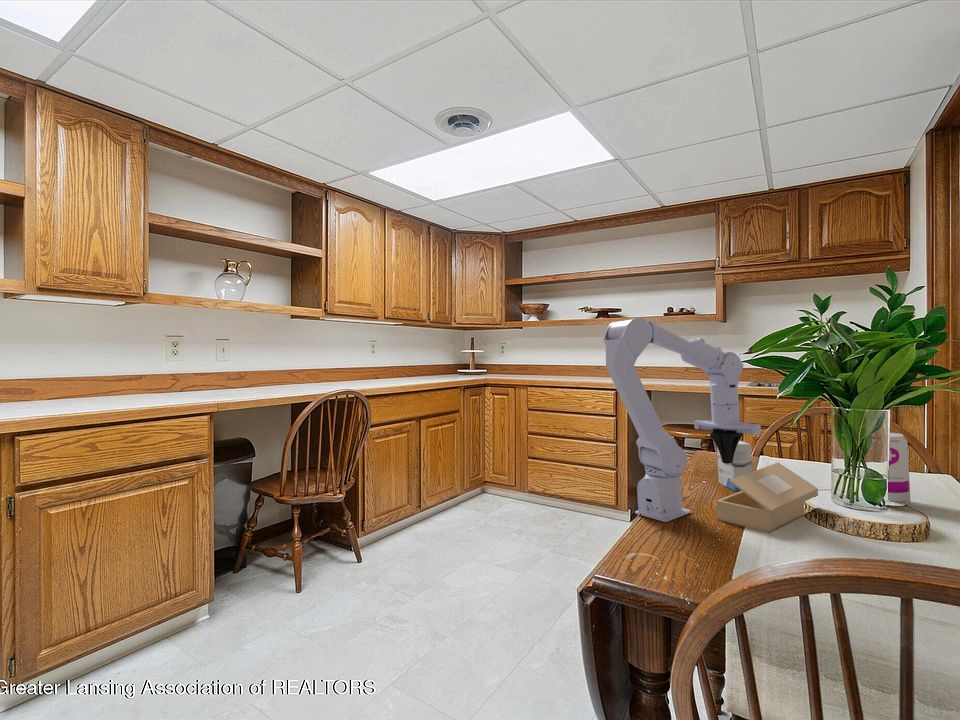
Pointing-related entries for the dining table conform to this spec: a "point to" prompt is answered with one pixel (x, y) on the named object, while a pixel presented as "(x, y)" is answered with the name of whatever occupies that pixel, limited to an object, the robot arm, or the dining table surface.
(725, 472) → the ink box
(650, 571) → the dining table surface
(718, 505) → the carton
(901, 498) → the white can
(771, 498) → the flap
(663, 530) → the dining table surface
